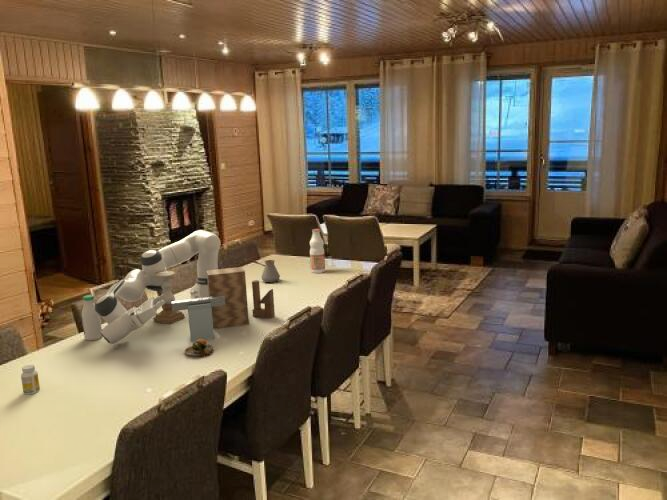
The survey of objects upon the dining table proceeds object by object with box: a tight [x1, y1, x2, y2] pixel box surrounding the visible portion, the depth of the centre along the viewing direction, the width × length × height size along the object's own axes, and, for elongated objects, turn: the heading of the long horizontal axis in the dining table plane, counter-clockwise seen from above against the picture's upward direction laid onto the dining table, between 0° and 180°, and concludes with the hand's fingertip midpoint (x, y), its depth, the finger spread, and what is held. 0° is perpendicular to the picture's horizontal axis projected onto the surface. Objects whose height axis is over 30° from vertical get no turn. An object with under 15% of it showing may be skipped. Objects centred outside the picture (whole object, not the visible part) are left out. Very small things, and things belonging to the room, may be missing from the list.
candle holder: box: [152, 270, 186, 325], centre depth 280 cm, size 11×11×24 cm
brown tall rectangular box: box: [207, 266, 250, 330], centre depth 270 cm, size 17×10×26 cm, turn 106°
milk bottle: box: [81, 294, 103, 341], centre depth 258 cm, size 8×8×20 cm
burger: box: [184, 335, 215, 358], centre depth 236 cm, size 12×12×8 cm
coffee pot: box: [244, 257, 281, 283], centre depth 349 cm, size 21×12×15 cm, turn 81°
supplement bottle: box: [20, 364, 41, 396], centre depth 205 cm, size 5×5×10 cm
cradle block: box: [187, 303, 215, 342], centre depth 254 cm, size 10×8×16 cm
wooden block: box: [251, 279, 276, 319], centre depth 279 cm, size 4×11×18 cm, turn 67°
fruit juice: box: [309, 228, 326, 274], centre depth 366 cm, size 9×9×28 cm
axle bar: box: [172, 295, 225, 311], centre depth 252 cm, size 23×4×4 cm, turn 106°
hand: (163, 298), depth 248 cm, fingers open, 8 cm apart
